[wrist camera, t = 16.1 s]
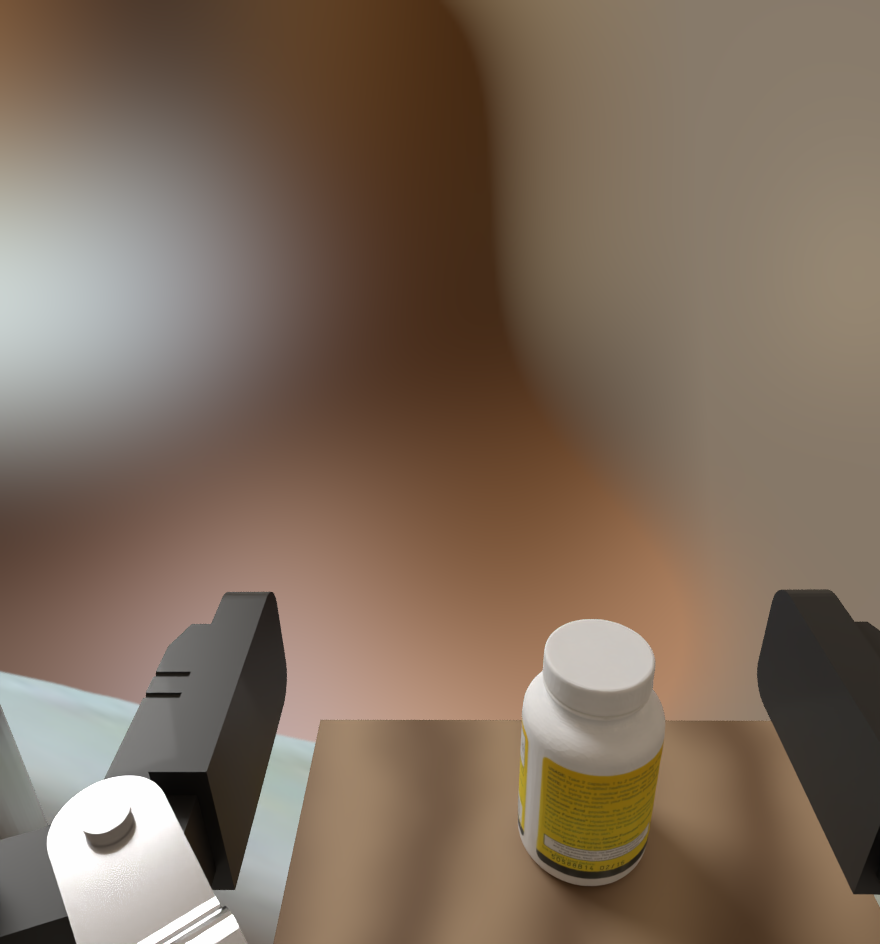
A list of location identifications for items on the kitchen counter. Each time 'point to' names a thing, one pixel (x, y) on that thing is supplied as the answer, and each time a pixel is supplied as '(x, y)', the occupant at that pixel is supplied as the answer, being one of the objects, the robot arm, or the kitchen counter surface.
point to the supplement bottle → (590, 753)
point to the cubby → (522, 880)
